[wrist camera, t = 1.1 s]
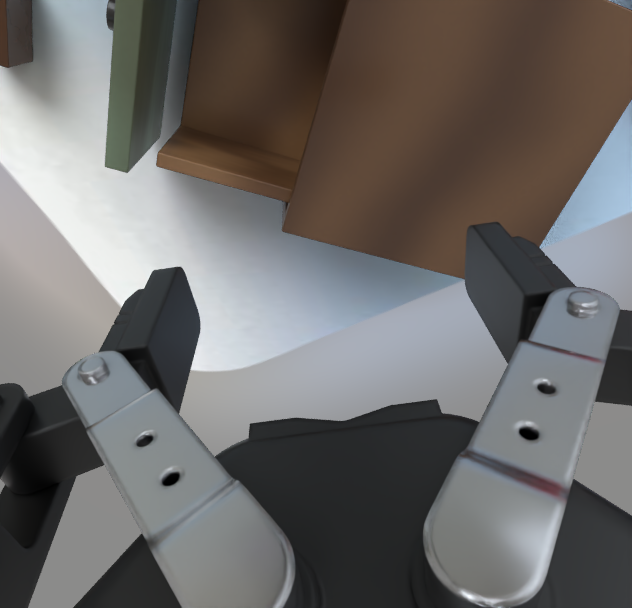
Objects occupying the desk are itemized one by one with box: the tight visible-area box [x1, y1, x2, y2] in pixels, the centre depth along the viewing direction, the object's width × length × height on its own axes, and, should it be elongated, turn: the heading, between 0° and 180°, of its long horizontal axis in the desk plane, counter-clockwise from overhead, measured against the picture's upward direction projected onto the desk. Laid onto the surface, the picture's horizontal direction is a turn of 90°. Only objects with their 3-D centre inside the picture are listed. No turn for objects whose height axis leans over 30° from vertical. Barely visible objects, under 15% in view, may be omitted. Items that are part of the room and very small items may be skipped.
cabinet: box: [282, 0, 632, 279], centre depth 27 cm, size 15×15×9 cm
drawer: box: [105, 0, 347, 203], centre depth 25 cm, size 15×13×7 cm
